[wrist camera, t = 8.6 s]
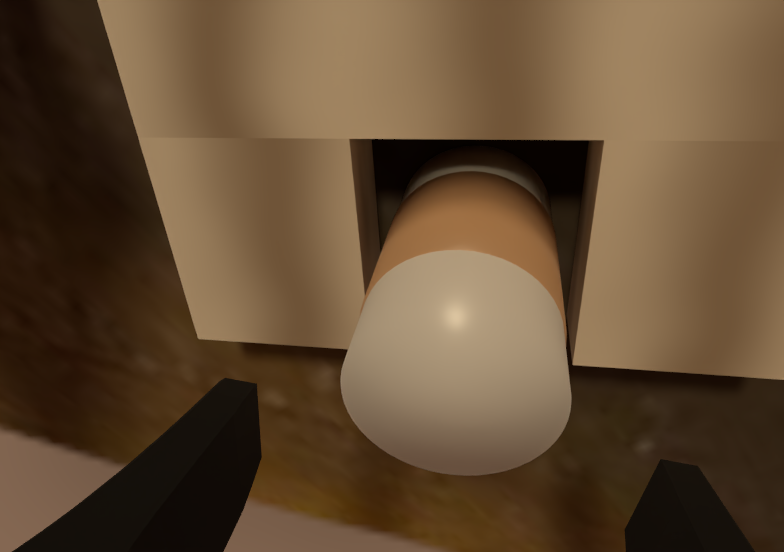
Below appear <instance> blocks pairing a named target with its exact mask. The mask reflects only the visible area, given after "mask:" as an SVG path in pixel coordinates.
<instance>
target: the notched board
mask: <svg viewBox="0 0 784 552" xmlns="http://www.w3.org/2000/svg"><path fill="white" fill-rule="evenodd" d="M97 1H98V4H99V8H100V11H101V14H102V18H103V21H104V24H105V28H106V31H107V34H108V38H109V41H110V44H111V48H112V51H113V55H114V58H115V61H116V65H117V68H118V71H119V75H120V78H121V81H122V85H123V88H124V91H125V95H126V98H127V102H128V105H129V108H130V112H131V115H132V118H133V122H134V125H135V128H136V132H137V135H138V138H139V142H140V145H141V148H142V152H143V155H144V159H145V162H146V165H147V169H148V172H149V175H150V179H151V182H152V185H153V189H154V192H155V195H156V199H157V202H158V205H159V209H160V212H161V216H162V219H163V222H164V226H165V229H166V232H167V236H168V239H169V242H170V246H171V249H172V252H173V256H174V259H175V262H176V266H177V269H178V273H179V276H180V279H181V283H182V286H183V289H184V293H185V296H186V299H187V303H188V306H189V309H190V313H191V316H192V319H193V323H194V326H195V330H196V333H197V336H198V339H207V340H221V341H236V342H250V343H264V344H279V345H293V346H307V347H322V348H336V349H349V346H350V343H351V340H352V338H353V335H354V332H355V329H356V326H357V324H358V321H359V318H360V310H361V307H362V304H363V300H364V298H365V295H366V292H367V289H368V287H369V284H370V281H371V278H372V276H373V273H374V270H375V267H376V265H377V262H378V259H379V256H380V254H381V252H380V240H379V227H378V214H377V201H376V189H375V176H374V163H373V150H372V139H470V140H589V144H588V151H587V159H586V167H585V175H584V183H583V191H582V199H581V207H580V215H579V222H578V230H577V238H576V246H575V254H574V262H573V270H572V278H571V285H570V293H569V301H568V309H567V322H568V330H569V339H570V348H571V356H572V365H580V366H594V367H609V368H623V369H637V370H652V371H666V372H680V373H695V374H709V375H723V376H738V377H752V378H766V379H781V380H784V0H97Z"/></svg>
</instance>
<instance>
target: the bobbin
mask: <svg viewBox="0 0 784 552" xmlns="http://www.w3.org/2000/svg"><path fill="white" fill-rule="evenodd" d="M566 338H567V330H566V322H565V313H564V304H563V295H562V286H561V278H560V269H559V260H558V251H557V242H556V235H555V230H554V226H553V223H552V214H551V205H550V199H549V196H548V192H547V190H546V187H545V185H544V183H543V181H542V180H541V178H540V177H539V175H538V174H537V173H536V172H535V171H534V170H533V168H532V167H531V166H529V165H528V164H527V163H526V162H525V161H523V160H522V159H520V158H519V157H517V156H516V155H514V154H512V153H509V152H507V151H505V150H502V149H499V148H495V147H490V146H481V145H469V146H461V147H456V148H452V149H449V150H446V151H444V152H442V153H440V154H437V155H436V156H434V157H432V158H431V159H429V160H428V161H427V162H426V163H424V164H423V165H422V166H421V167H420V168H419V169H418V170H417V171H416V172H415V174H414V175H413V177H412V178H411V180H410V181H409V183H408V185H407V187H406V190H405V193H404V195H403V198H402V201H401V204H400V206H399V208H398V210H397V212H396V214H395V216H394V218H393V221H392V223H391V226H390V229H389V232H388V234H387V237H386V240H385V243H384V245H383V248H382V251H381V254H380V256H379V259H378V262H377V265H376V267H375V270H374V273H373V276H372V278H371V281H370V284H369V287H368V289H367V292H366V295H365V298H364V300H363V304H362V307H361V310H360V318H359V321H358V324H357V326H356V329H355V332H354V335H353V338H352V340H351V343H350V346H349V349H348V351H347V354H346V357H345V360H344V363H343V367H342V371H341V392H342V397H343V401H344V403H345V406H346V408H347V411H348V413H349V415H350V416H351V418H352V420H353V421H354V423H355V424H356V425H357V427H358V428H359V429H360V431H361V432H362V433H363V434H364V435H365V436H366V437H367V438H368V439H369V440H371V441H372V442H373V443H374V444H375V445H377V446H378V447H379V448H381V449H382V450H384V451H385V452H387V453H388V454H390V455H392V456H394V457H395V458H397V459H399V460H401V461H404V462H406V463H408V464H411V465H413V466H416V467H419V468H422V469H425V470H429V471H434V472H438V473H444V474H451V475H485V474H493V473H498V472H502V471H507V470H510V469H513V468H516V467H519V466H521V465H523V464H525V463H528V462H530V461H531V460H533V459H535V458H536V457H538V456H540V455H541V454H542V453H544V452H545V451H546V450H547V449H549V448H550V447H551V446H552V444H553V443H554V442H555V441H556V440H557V439H558V438H559V436H560V435H561V433H562V432H563V430H564V428H565V426H566V423H567V421H568V418H569V414H570V410H571V390H570V380H569V371H568V362H567V352H566Z"/></svg>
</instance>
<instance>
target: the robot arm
mask: <svg viewBox="0 0 784 552" xmlns="http://www.w3.org/2000/svg"><path fill="white" fill-rule="evenodd" d="M260 460H261V442H260V426H259V411H258V396H257V384H255V383H250V382H244V381H239V380H233V379H228V378H224V379H223V380H221V381H220V382H218V383H217V384H216V385H215V386H214V387H213V388H212V389H211V390H210V391H209V392H208V393H207V394H206V395H205V396H204V397H203V398H202V399H201V400H199V401H198V402H197V403H196V404H195V405H194V406H193V407H192V408H191V409H190V410H189V411H188V412H187V413H186V414H184V415H183V416H182V417H181V418H180V419H179V420H178V421H177V422H176V423H175V424H174V425H172V426H171V427H170V428H169V429H168V430H167V431H166V432H165V433H164V434H162V435H161V436H160V437H159V438H158V439H157V440H156V441H154V442H153V443H152V444H151V445H150V446H149V447H148V448H146V449H145V450H144V451H143V452H142V453H141V454H139V455H138V456H137V457H136V458H135V459H134V460H133V461H131V462H130V463H129V464H128V465H127V466H125V467H124V468H123V469H122V470H121V471H119V472H118V473H117V474H116V475H114V476H113V477H112V478H111V479H109V480H108V481H107V482H106V483H104V484H103V485H102V486H101V487H99V488H98V489H97V490H96V491H94V492H93V493H92V494H91V495H90V496H88V497H87V498H86V499H84V500H83V501H82V502H81V503H79V504H78V505H77V506H75V507H74V508H73V509H71V510H70V511H69V512H67V513H66V514H65V515H63V516H62V517H61V518H59V519H58V520H57V521H55V522H54V523H52V524H51V525H50V526H48V527H47V528H45V529H44V530H43V531H42V532H40V533H38V534H37V535H36V536H34V537H33V538H31V539H30V540H29V541H27V542H25V543H24V544H23V545H21V546H20V547H18V548H17V549H15V550H14V551H12V552H223V551H224V549H225V547H226V545H227V543H228V541H229V539H230V537H231V535H232V532H233V530H234V528H235V526H236V524H237V522H238V520H239V518H240V516H241V513H242V511H243V509H244V506H245V503H246V501H247V498H248V495H249V492H250V490H251V487H252V484H253V481H254V478H255V475H256V472H257V469H258V466H259V463H260ZM625 542H626V552H755V551H754V549H753V548H752V546H751V545H750V543H749V542H748V540H747V539H746V537H745V536H744V534H743V533H742V532H741V530H740V529H739V527H738V526H737V524H736V523H735V521H734V520H733V518H732V517H731V515H730V514H729V512H728V511H727V509H726V508H725V506H724V505H723V503H722V502H721V500H720V499H719V497H718V496H717V494H716V493H715V491H714V490H713V488H712V487H711V485H710V484H709V482H708V481H707V479H706V478H705V476H704V475H703V473H702V472H701V470H700V469H699V467H698V466H694V465H689V464H684V463H678V462H673V461H668V460H662V459H661V460H660V462H659V464H658V466H657V468H656V470H655V471H654V473H653V475H652V477H651V479H650V481H649V483H648V485H647V487H646V489H645V491H644V493H643V495H642V497H641V499H640V501H639V503H638V505H637V507H636V509H635V511H634V513H633V515H632V517H631V519H630V520H629V522H628V524H627V526H626V528H625Z"/></svg>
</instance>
